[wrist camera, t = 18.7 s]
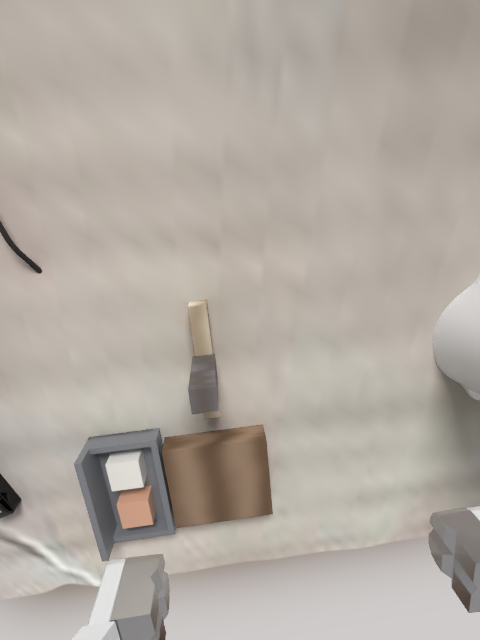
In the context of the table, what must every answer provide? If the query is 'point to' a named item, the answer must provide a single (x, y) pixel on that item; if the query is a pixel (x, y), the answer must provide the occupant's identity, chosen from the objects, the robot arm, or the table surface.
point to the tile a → (126, 469)
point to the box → (105, 500)
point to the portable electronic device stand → (7, 498)
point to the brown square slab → (218, 475)
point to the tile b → (136, 507)
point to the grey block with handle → (203, 364)
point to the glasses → (16, 250)
